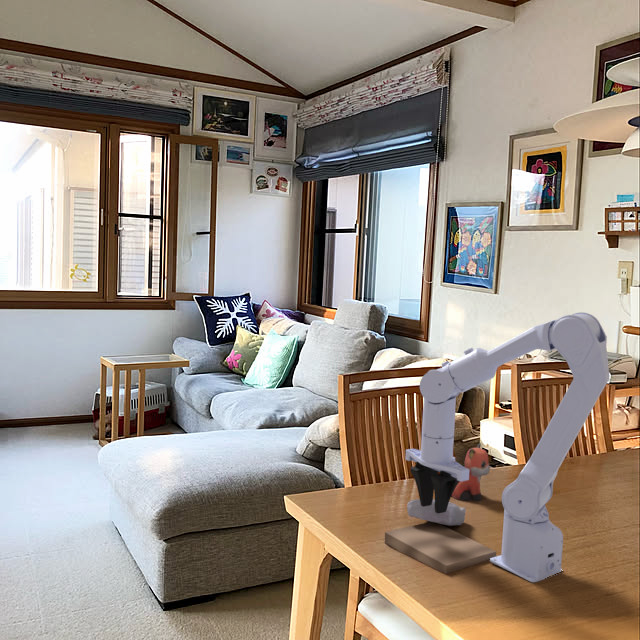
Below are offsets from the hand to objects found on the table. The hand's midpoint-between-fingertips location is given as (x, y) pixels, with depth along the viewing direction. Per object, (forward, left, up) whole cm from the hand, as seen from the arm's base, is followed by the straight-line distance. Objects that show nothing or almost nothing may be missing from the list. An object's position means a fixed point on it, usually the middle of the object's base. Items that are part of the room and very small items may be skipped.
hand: (433, 508), depth 129 cm
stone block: (+11, -4, -5) cm, 13 cm away
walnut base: (-2, 0, -7) cm, 8 cm away
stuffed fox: (+18, -26, -8) cm, 32 cm away
